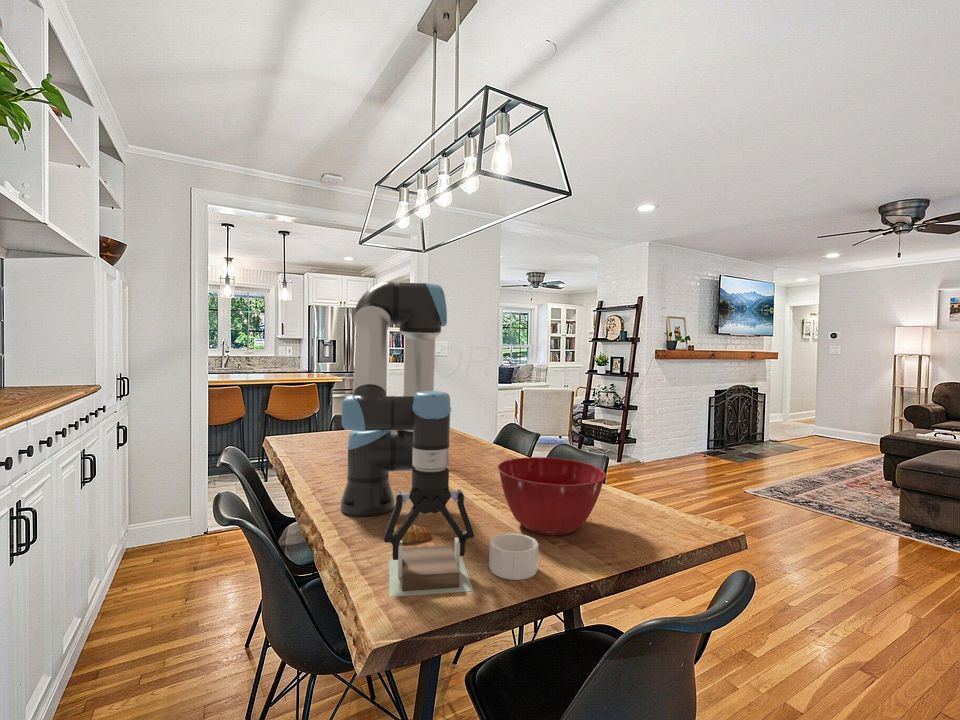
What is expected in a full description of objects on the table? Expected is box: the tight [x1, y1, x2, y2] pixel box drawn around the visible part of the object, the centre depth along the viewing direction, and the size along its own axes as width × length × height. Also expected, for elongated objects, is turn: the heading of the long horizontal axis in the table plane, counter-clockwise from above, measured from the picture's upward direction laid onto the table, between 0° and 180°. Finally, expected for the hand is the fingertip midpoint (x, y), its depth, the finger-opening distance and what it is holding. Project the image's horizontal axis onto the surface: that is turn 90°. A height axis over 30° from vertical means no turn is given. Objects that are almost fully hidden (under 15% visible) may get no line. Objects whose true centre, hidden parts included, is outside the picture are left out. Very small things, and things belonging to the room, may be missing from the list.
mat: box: [388, 556, 474, 598], centre depth 102 cm, size 16×16×1 cm
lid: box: [402, 544, 460, 591], centre depth 102 cm, size 13×11×3 cm
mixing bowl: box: [497, 456, 607, 536], centre depth 132 cm, size 28×28×15 cm
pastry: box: [392, 523, 432, 545], centre depth 121 cm, size 9×7×4 cm
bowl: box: [488, 532, 539, 581], centre depth 105 cm, size 10×10×6 cm
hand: (428, 572), depth 102 cm, fingers closed on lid, 11 cm apart
